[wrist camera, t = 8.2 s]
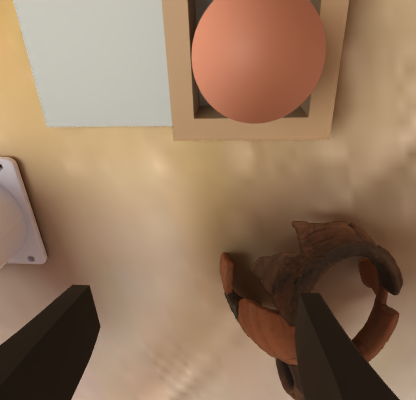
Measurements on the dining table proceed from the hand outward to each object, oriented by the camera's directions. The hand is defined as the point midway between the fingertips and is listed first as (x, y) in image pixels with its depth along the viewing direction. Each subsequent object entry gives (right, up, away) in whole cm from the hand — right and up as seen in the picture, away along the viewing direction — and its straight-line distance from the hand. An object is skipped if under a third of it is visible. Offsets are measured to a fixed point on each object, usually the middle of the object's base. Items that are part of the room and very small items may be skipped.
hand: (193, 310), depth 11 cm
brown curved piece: (+6, -1, +12) cm, 13 cm away
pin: (+2, +11, +4) cm, 12 cm away
